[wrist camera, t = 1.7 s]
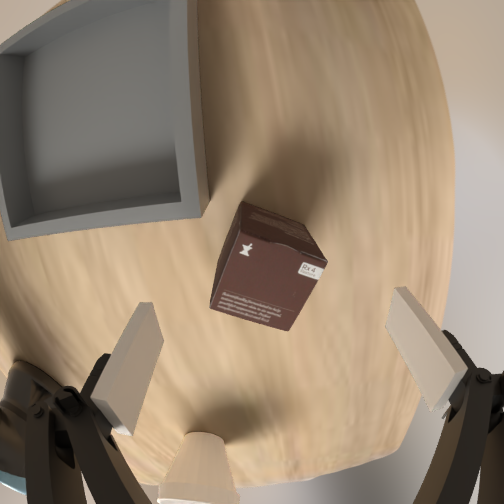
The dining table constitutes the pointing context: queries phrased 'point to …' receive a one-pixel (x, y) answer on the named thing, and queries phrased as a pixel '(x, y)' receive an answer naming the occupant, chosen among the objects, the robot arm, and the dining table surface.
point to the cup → (199, 473)
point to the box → (266, 268)
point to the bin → (102, 118)
